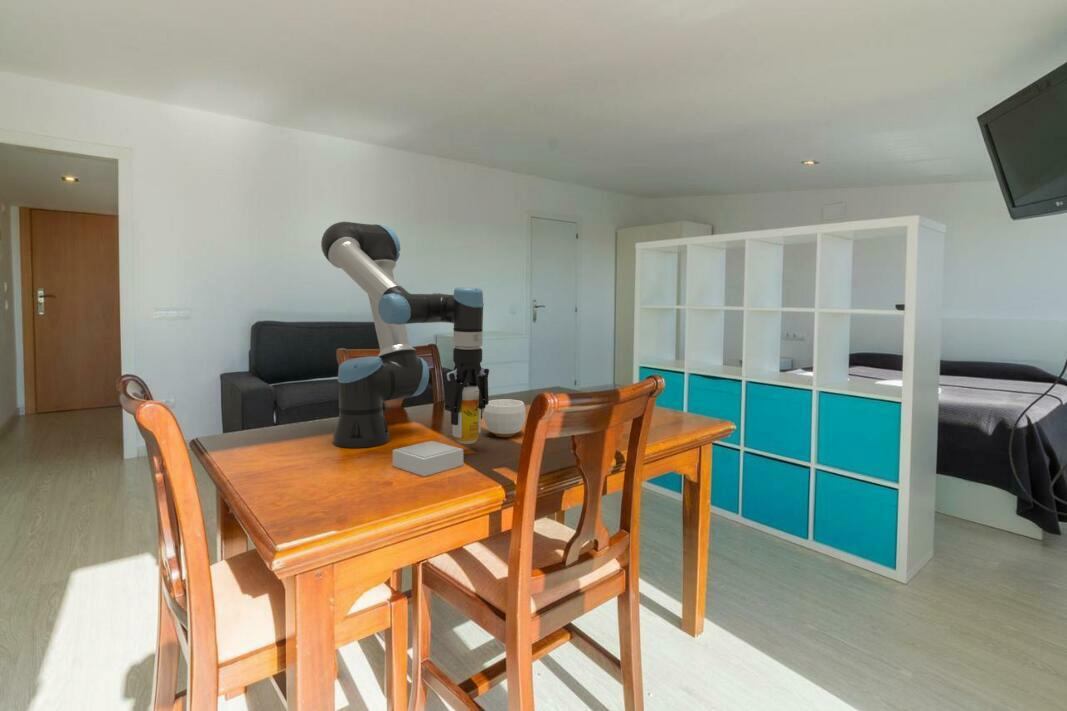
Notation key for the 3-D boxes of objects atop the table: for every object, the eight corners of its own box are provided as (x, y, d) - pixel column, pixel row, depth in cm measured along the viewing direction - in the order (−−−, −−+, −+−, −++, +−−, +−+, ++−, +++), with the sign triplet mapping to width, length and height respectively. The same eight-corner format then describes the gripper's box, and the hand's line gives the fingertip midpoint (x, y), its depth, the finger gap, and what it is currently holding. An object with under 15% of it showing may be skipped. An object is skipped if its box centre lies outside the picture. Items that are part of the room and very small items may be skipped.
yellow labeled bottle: (474, 445, 150) (475, 388, 148) (451, 443, 152) (452, 386, 150) (481, 439, 156) (481, 384, 154) (459, 437, 157) (460, 382, 156)
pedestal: (392, 466, 141) (392, 448, 140) (432, 455, 150) (431, 439, 149) (424, 476, 133) (423, 458, 132) (463, 465, 142) (463, 448, 141)
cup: (477, 437, 169) (477, 405, 168) (493, 428, 180) (493, 397, 179) (517, 441, 165) (517, 408, 164) (531, 431, 177) (531, 400, 176)
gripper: (449, 351, 141) (448, 444, 144) (503, 346, 155) (502, 430, 158) (429, 348, 146) (429, 438, 149) (484, 343, 160) (482, 425, 163)
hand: (466, 434), depth 154 cm, fingers closed on yellow labeled bottle, 6 cm apart
